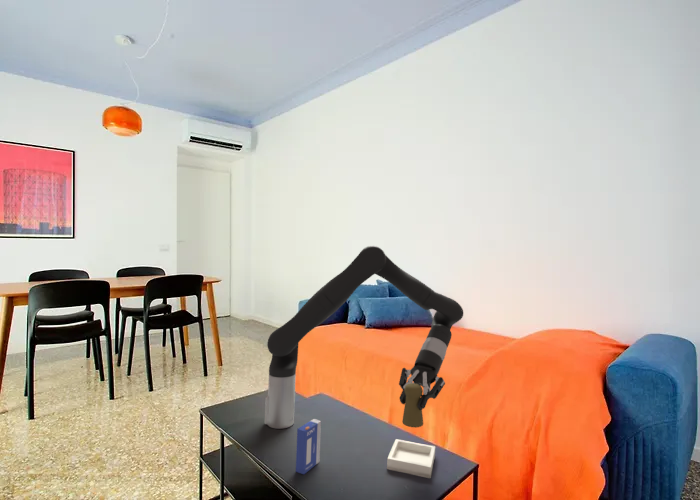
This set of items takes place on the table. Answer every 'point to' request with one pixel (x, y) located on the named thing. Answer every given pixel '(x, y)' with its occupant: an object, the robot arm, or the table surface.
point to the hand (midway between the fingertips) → (410, 405)
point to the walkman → (308, 446)
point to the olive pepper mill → (412, 406)
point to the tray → (411, 458)
